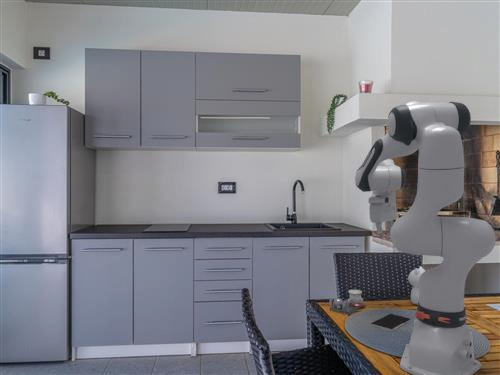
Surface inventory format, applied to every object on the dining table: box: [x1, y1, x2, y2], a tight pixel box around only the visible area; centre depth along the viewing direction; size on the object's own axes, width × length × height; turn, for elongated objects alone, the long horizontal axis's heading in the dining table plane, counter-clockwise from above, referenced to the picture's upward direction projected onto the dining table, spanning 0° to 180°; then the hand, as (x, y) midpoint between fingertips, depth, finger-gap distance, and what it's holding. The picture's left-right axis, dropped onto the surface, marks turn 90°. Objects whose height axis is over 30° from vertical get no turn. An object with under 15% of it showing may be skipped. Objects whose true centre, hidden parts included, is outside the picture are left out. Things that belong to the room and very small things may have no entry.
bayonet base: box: [329, 297, 366, 316], centre depth 143 cm, size 14×10×4 cm
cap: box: [347, 289, 364, 305], centre depth 145 cm, size 6×5×5 cm
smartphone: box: [370, 313, 412, 332], centre depth 127 cm, size 8×1×15 cm
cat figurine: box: [407, 265, 426, 306], centre depth 147 cm, size 9×12×15 cm
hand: (384, 232), depth 149 cm, fingers open, 8 cm apart
